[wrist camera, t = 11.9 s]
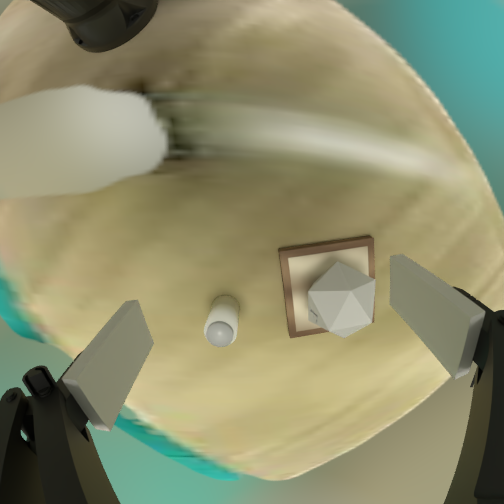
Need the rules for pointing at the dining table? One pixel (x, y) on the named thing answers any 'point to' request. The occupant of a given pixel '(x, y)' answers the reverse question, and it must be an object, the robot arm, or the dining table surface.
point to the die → (341, 300)
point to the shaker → (222, 321)
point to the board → (318, 274)
